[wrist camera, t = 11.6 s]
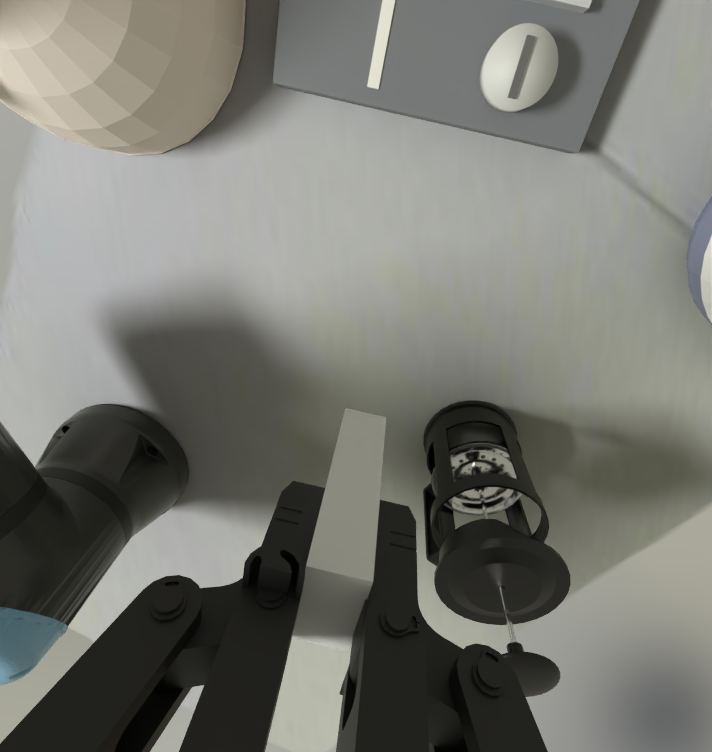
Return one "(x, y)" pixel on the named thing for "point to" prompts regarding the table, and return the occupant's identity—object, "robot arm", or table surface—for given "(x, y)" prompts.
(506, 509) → the french press
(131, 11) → the kettle
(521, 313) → the table surface
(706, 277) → the bowl
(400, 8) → the console board
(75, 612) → the robot arm
